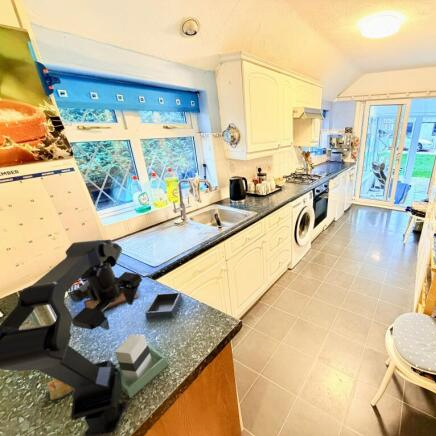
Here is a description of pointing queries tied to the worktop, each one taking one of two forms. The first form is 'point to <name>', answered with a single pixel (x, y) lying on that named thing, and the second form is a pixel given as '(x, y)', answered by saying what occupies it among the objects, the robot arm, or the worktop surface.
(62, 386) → the pastry
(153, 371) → the front tote
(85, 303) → the sunglasses case
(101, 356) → the worktop surface
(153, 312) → the tray
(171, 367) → the worktop surface
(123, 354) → the package
